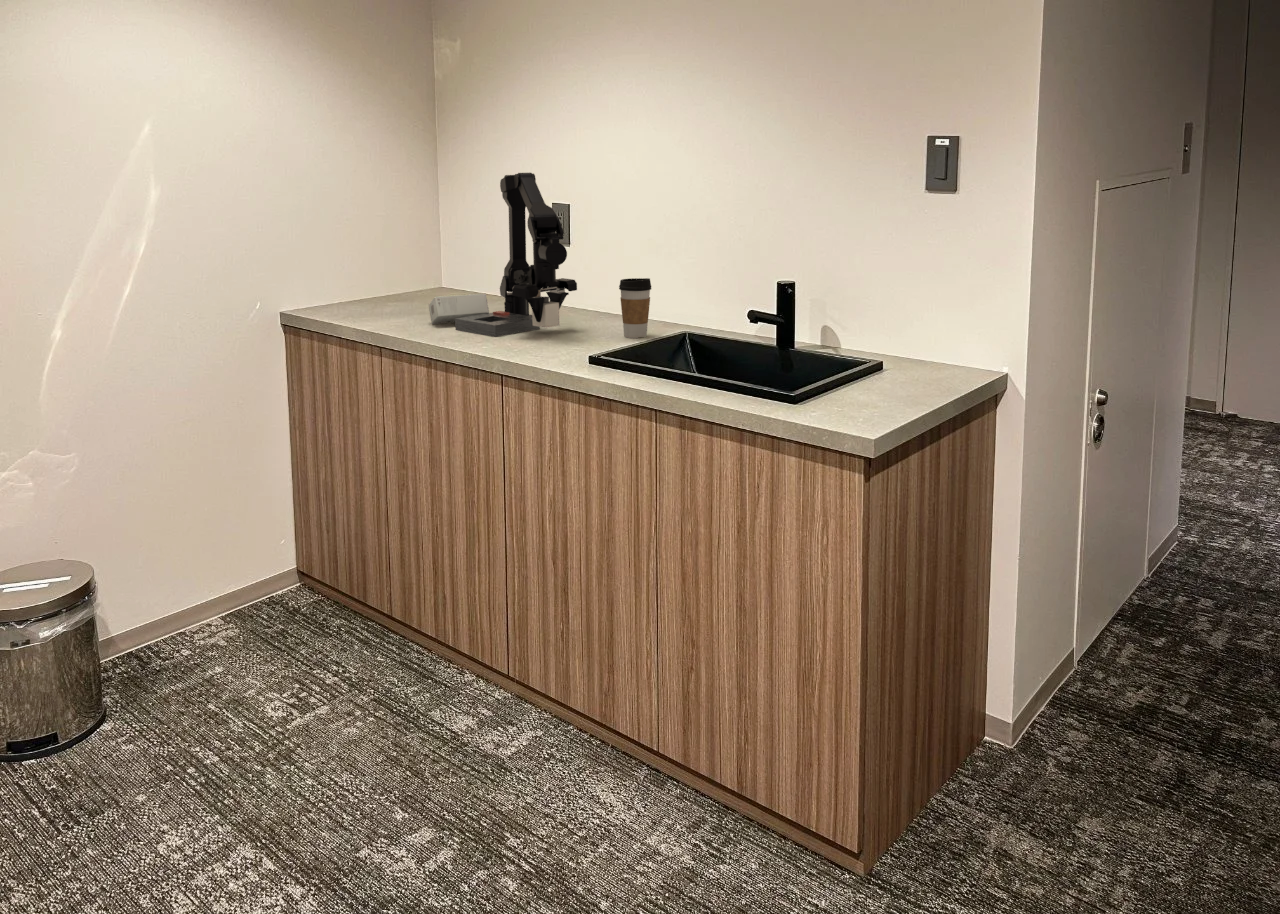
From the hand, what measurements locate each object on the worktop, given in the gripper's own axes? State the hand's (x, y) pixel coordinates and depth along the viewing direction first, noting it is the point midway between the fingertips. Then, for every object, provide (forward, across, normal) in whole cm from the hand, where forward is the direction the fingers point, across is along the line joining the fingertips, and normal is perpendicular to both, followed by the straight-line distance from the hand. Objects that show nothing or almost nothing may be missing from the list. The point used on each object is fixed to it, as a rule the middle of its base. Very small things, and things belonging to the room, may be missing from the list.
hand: (545, 320), depth 307 cm
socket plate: (+3, +4, -14) cm, 15 cm away
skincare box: (-1, +12, -32) cm, 35 cm away
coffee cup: (+4, -12, +21) cm, 24 cm away
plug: (+1, 0, 0) cm, 1 cm away
